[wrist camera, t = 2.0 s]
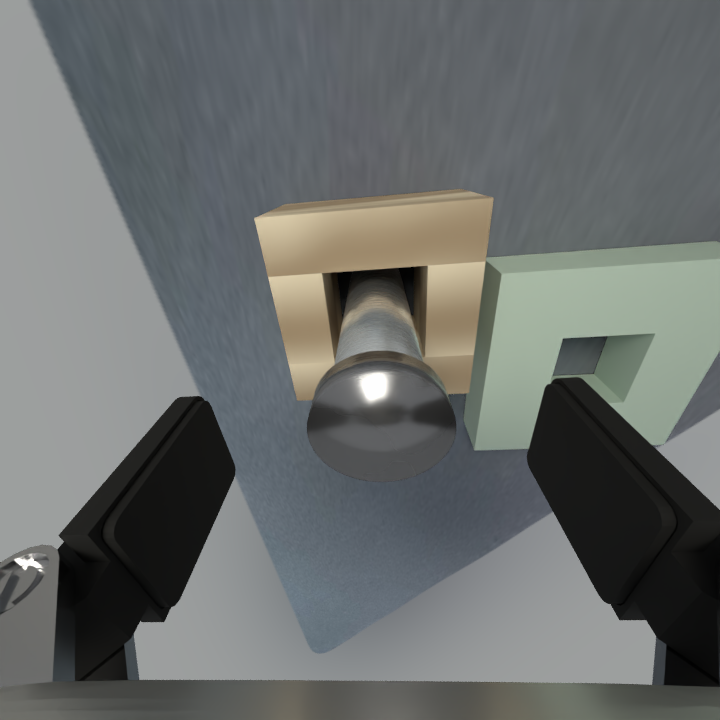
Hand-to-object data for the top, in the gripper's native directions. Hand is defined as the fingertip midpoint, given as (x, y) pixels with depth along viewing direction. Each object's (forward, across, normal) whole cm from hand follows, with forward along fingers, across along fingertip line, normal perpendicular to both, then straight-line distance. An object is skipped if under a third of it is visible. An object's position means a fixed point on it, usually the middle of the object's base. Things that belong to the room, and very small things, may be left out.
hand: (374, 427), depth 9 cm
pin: (+11, 0, -1) cm, 11 cm away
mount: (+11, 0, -1) cm, 11 cm away
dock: (+11, -12, +4) cm, 17 cm away
